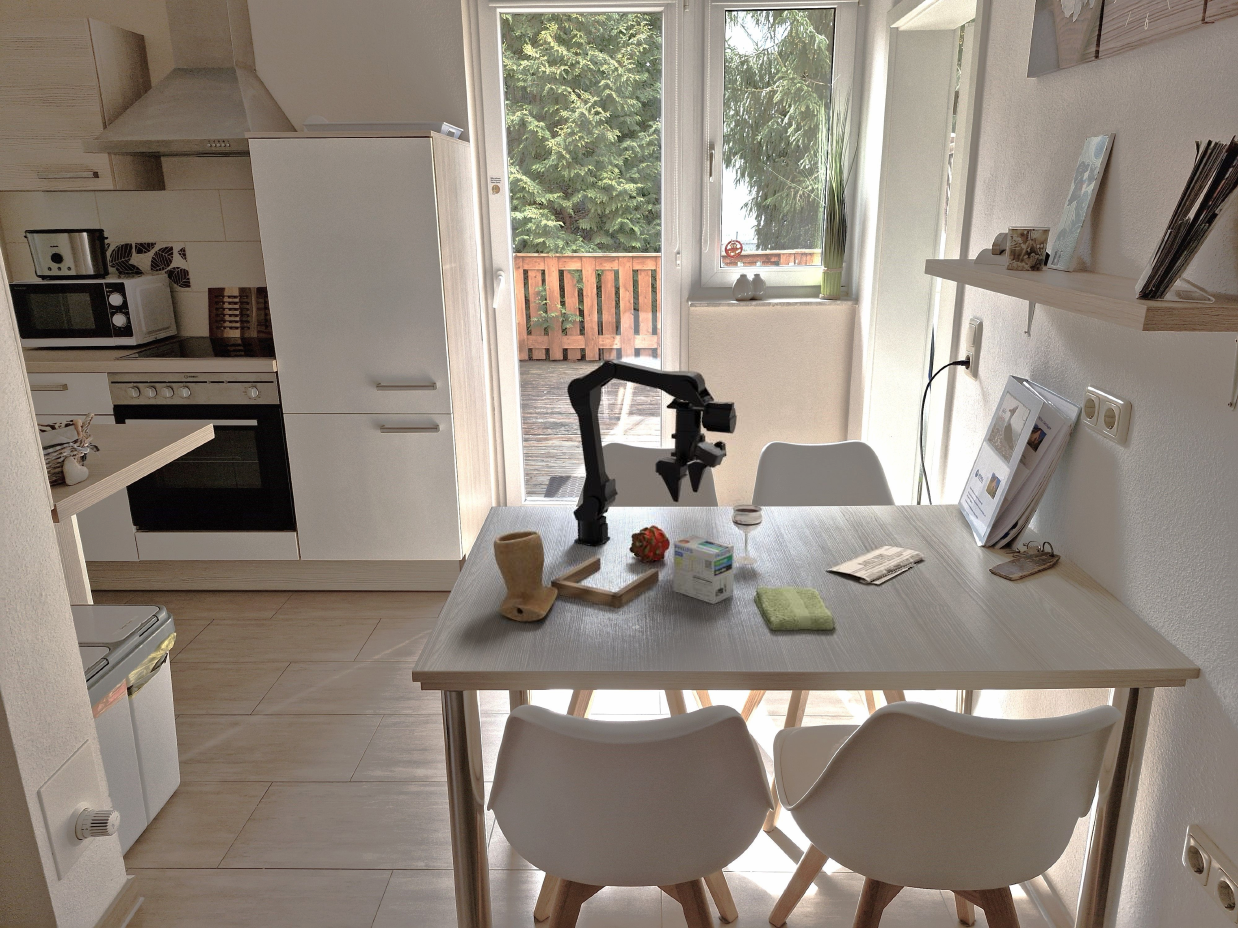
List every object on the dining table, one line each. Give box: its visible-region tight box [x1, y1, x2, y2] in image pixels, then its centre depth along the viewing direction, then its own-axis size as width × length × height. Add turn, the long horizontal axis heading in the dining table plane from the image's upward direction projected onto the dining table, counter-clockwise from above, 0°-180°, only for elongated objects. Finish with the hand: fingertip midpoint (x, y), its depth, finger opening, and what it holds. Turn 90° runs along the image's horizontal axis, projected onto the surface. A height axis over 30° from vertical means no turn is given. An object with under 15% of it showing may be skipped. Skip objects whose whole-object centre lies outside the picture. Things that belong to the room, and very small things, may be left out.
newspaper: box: [825, 545, 925, 585], centre depth 192 cm, size 23×12×2 cm, turn 131°
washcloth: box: [753, 585, 836, 631], centre depth 168 cm, size 13×18×3 cm
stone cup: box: [493, 530, 558, 622], centre depth 170 cm, size 15×12×15 cm
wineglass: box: [731, 503, 764, 565], centre depth 195 cm, size 7×7×12 cm
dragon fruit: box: [629, 525, 671, 564], centre depth 197 cm, size 8×8×12 cm
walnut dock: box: [550, 556, 660, 609], centre depth 182 cm, size 16×16×2 cm
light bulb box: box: [673, 534, 735, 605], centre depth 177 cm, size 11×7×11 cm, turn 47°
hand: (685, 496), depth 198 cm, fingers open, 9 cm apart
